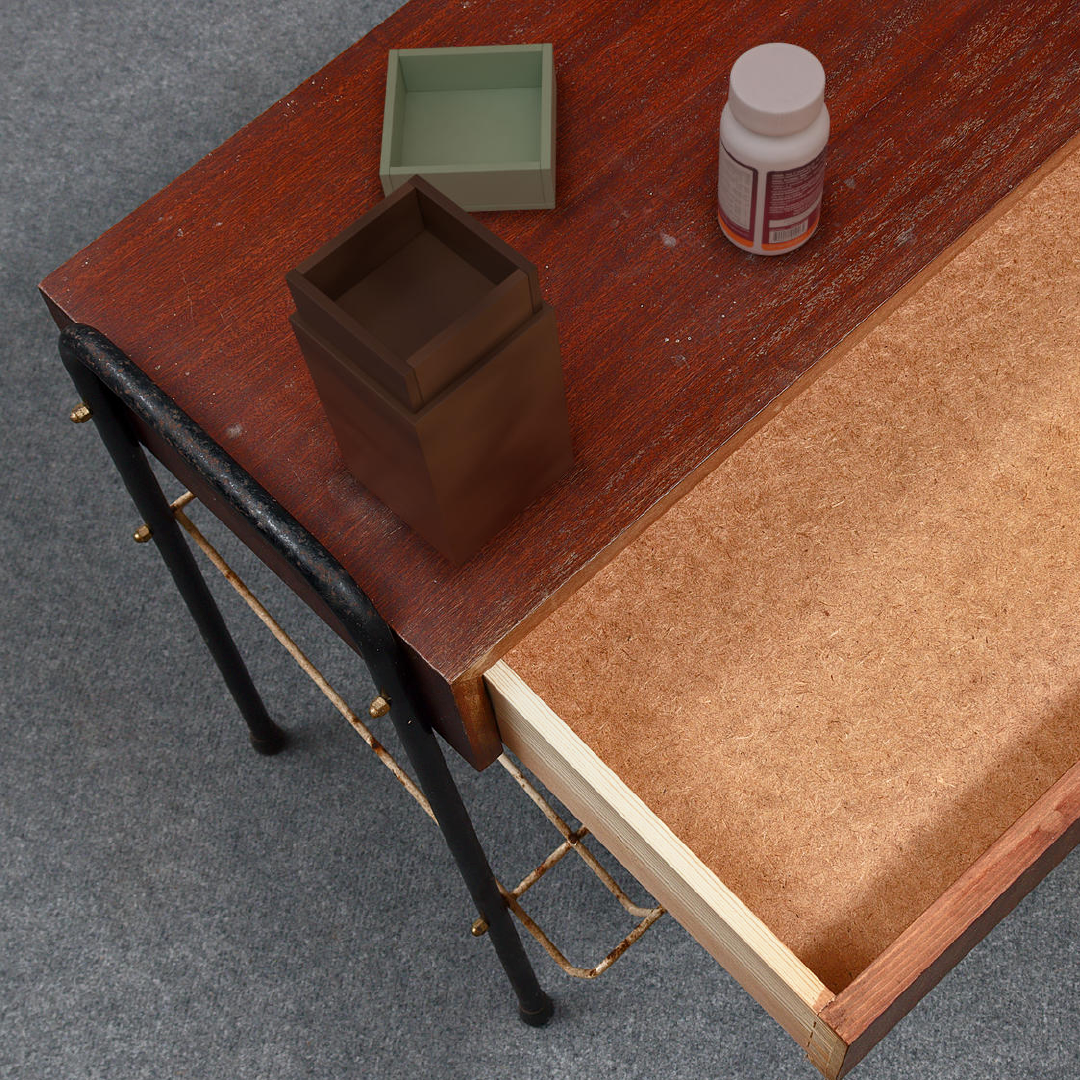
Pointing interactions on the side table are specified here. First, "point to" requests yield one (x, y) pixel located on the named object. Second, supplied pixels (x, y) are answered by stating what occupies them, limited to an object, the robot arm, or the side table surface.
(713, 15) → the side table surface
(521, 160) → the bin
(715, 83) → the side table surface
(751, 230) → the pill bottle
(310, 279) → the stand
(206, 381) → the side table surface
